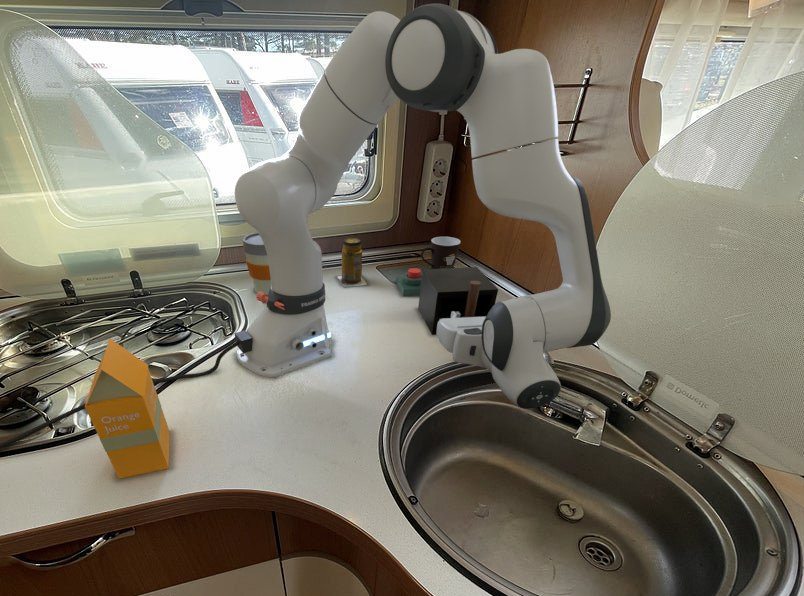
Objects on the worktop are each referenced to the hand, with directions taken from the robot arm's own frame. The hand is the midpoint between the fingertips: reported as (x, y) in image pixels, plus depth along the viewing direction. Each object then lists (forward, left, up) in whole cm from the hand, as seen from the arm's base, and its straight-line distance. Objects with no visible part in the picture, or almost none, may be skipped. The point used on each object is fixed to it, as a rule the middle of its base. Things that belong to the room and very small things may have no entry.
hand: (475, 313), depth 91 cm
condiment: (+10, +46, -9) cm, 48 cm away
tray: (+7, +8, -7) cm, 12 cm away
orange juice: (-67, +20, -9) cm, 71 cm away
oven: (+9, +10, -9) cm, 16 cm away
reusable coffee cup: (-11, +59, -9) cm, 61 cm away
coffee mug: (+33, +31, -9) cm, 46 cm away
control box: (+18, +29, -9) cm, 35 cm away
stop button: (+18, +29, -5) cm, 34 cm away
